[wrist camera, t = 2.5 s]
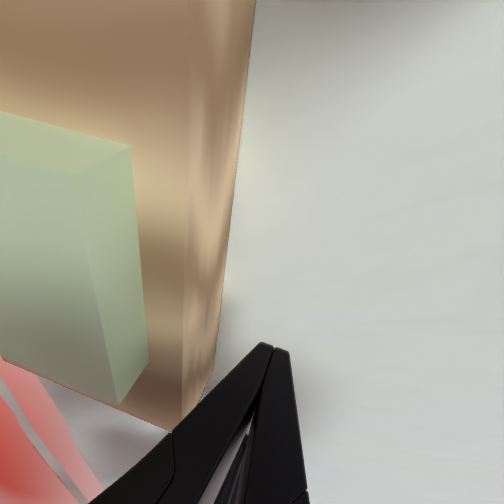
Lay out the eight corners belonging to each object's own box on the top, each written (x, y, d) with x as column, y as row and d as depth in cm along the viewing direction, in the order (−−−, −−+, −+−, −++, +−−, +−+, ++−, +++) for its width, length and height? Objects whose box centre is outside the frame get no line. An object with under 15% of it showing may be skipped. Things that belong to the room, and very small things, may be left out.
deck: (213, 370, 20) (181, 436, 17) (58, 311, 21) (3, 360, 18) (270, -121, 8) (192, -222, 4) (-92, -159, 9) (-325, -250, 6)
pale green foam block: (149, 361, 13) (118, 405, 12) (28, 314, 14) (-15, 349, 13) (130, 146, 8) (69, 175, 6) (-61, 94, 9) (-153, 109, 8)
